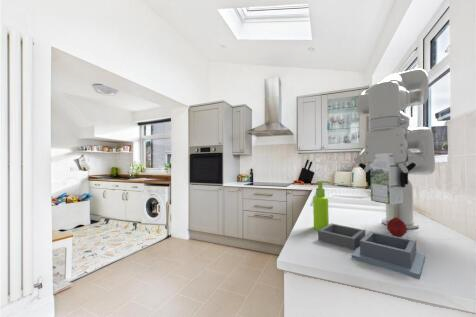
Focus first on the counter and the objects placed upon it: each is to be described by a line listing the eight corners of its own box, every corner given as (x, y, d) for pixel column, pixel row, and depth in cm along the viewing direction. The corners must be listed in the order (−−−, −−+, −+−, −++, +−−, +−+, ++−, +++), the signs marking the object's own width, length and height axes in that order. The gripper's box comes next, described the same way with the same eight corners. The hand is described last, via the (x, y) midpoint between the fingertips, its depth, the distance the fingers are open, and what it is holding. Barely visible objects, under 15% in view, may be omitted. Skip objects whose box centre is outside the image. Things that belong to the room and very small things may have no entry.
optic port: (366, 243, 70) (365, 228, 70) (425, 257, 59) (424, 240, 60) (351, 258, 60) (350, 240, 60) (419, 278, 49) (419, 257, 49)
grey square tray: (331, 232, 82) (331, 223, 82) (365, 239, 73) (365, 230, 73) (318, 240, 74) (318, 230, 74) (354, 250, 65) (354, 239, 65)
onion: (410, 241, 72) (410, 218, 72) (392, 240, 73) (391, 217, 73) (401, 235, 77) (400, 214, 77) (384, 234, 78) (383, 213, 79)
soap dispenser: (332, 231, 83) (330, 181, 83) (313, 229, 85) (312, 181, 85) (330, 227, 88) (329, 180, 89) (313, 225, 91) (312, 180, 91)
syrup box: (404, 203, 58) (402, 152, 58) (389, 204, 56) (388, 152, 56) (383, 199, 64) (382, 153, 64) (370, 201, 62) (368, 153, 62)
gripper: (425, 122, 57) (427, 187, 56) (355, 130, 69) (357, 183, 69) (422, 119, 51) (425, 189, 51) (348, 128, 64) (349, 184, 64)
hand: (386, 185), depth 60 cm, fingers closed on syrup box, 7 cm apart
